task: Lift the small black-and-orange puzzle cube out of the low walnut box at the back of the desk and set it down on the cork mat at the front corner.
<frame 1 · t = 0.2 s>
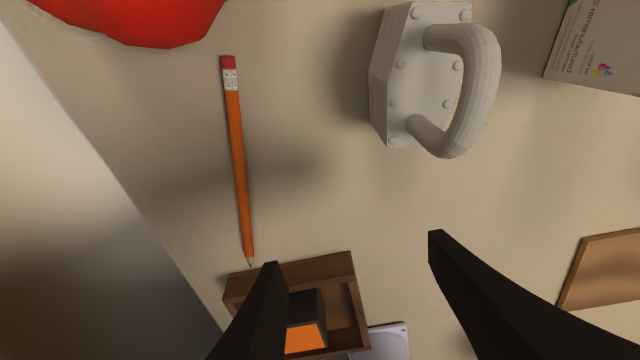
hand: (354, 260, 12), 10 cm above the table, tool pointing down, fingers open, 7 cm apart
ink box: (599, 5, 16), on the table
cork mat: (619, 267, 29), on the table
padlock: (395, 71, 18), on the table
walnut box: (304, 301, 29), on the table
puzzle cube: (300, 296, 28), resting on walnut box
pencil: (243, 182, 21), on the table
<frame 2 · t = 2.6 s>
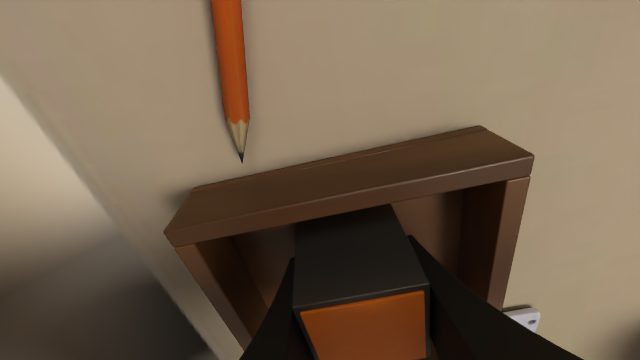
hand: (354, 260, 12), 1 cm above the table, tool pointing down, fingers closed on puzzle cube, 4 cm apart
walnut box: (354, 260, 14), on the table
puzzle cube: (350, 247, 13), resting on walnut box, touching gripper
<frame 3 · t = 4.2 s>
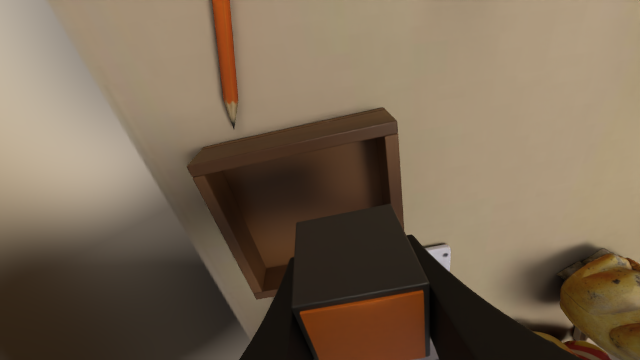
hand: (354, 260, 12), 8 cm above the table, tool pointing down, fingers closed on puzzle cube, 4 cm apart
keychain: (619, 346, 31), point 1 cm above the table, touching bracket, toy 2
decorative figurine: (584, 274, 27), on the table
walnut box: (312, 203, 21), on the table
puzzle cube: (350, 247, 13), point 7 cm above the table, touching gripper
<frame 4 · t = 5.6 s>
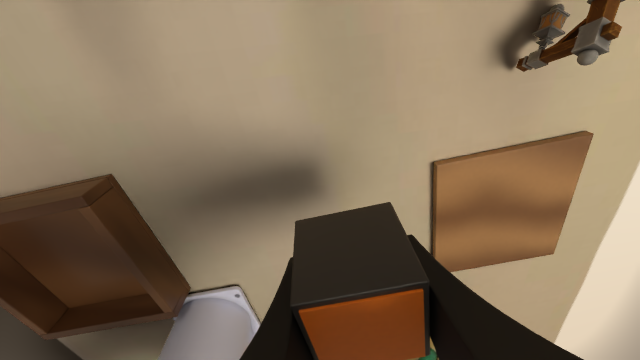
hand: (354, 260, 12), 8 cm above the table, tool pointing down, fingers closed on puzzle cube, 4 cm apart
cork mat: (497, 210, 22), on the table
walnut box: (88, 252, 22), on the table
puzzle cube: (349, 245, 13), point 8 cm above the table, touching gripper
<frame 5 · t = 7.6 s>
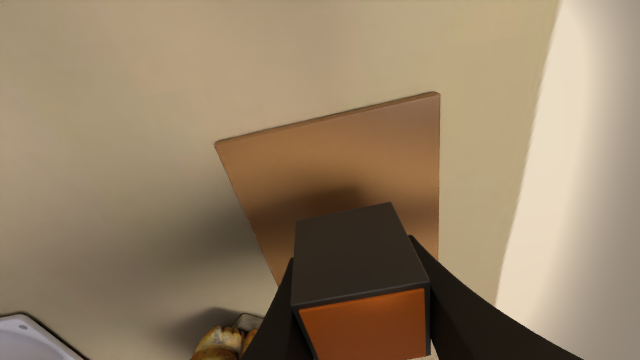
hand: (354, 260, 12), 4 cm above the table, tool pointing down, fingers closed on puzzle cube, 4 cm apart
cork mat: (343, 212, 16), on the table
decorative figurine: (255, 338, 22), on the table
puzzle cube: (350, 245, 13), point 3 cm above the table, touching gripper
when the fingers open (1 cm above the table, at t = 8.8 s): puzzle cube stays where it is, resting on cork mat.
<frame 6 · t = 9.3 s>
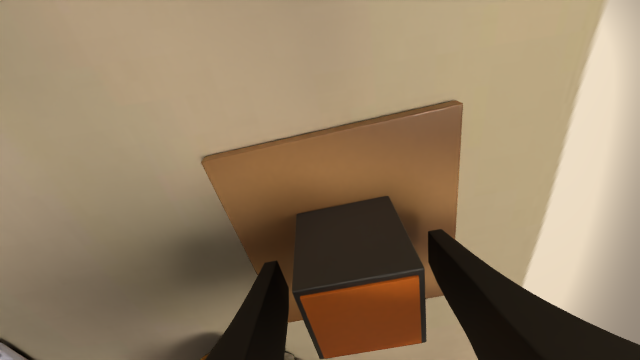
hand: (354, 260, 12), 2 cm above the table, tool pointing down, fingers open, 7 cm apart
cork mat: (348, 233, 14), on the table
puzzle cube: (349, 238, 13), point 1 cm above the table, touching cork mat
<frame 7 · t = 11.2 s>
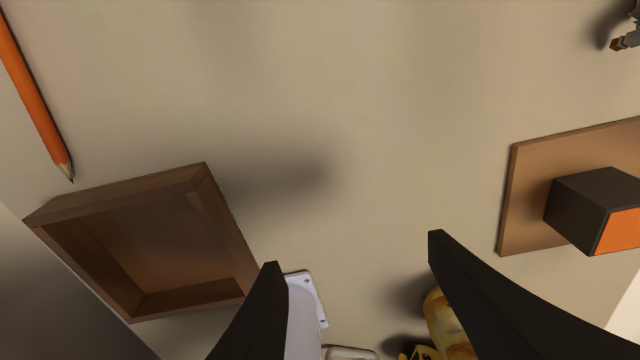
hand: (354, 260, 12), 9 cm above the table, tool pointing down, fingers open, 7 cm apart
cork mat: (568, 192, 23), on the table
decorative figurine: (452, 293, 29), on the table
walnut box: (171, 239, 23), on the table
puzzle cube: (574, 194, 22), point 1 cm above the table, touching cork mat
pencil: (14, 41, 15), on the table
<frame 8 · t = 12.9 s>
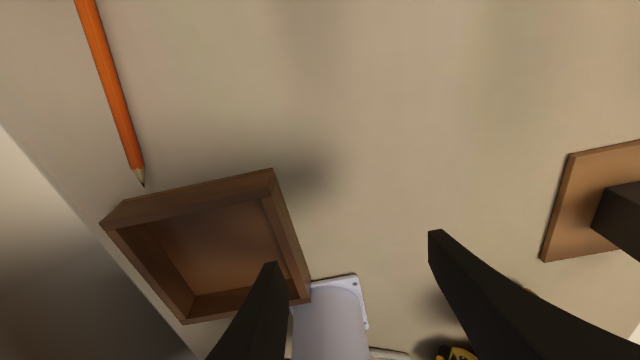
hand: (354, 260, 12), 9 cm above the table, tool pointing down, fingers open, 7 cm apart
cork mat: (616, 200, 23), on the table
walnut box: (227, 242, 24), on the table
puzzle cube: (623, 203, 23), point 1 cm above the table, touching cork mat
pencil: (107, 51, 16), on the table
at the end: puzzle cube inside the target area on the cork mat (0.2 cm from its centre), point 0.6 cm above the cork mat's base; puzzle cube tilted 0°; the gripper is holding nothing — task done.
